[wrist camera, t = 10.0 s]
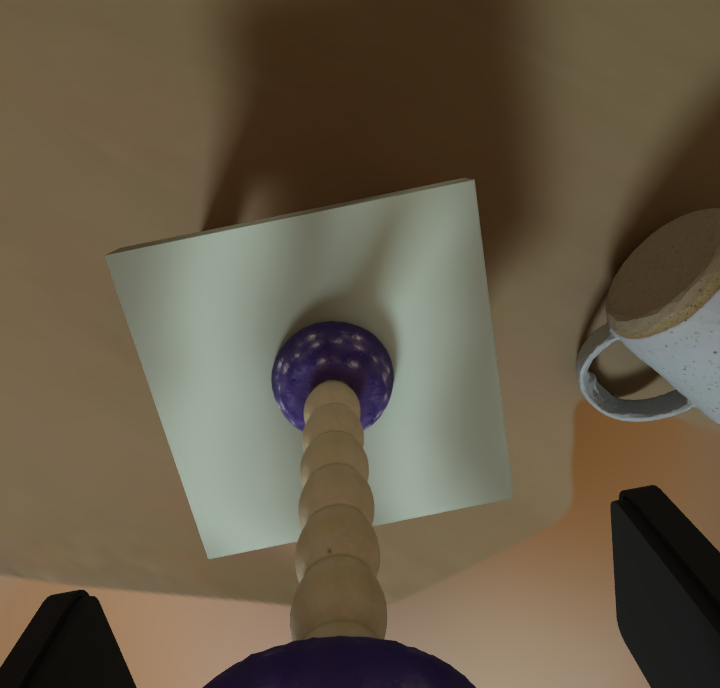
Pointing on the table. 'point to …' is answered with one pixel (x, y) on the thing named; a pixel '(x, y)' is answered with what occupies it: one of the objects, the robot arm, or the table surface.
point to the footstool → (301, 309)
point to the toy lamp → (336, 526)
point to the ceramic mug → (665, 320)
